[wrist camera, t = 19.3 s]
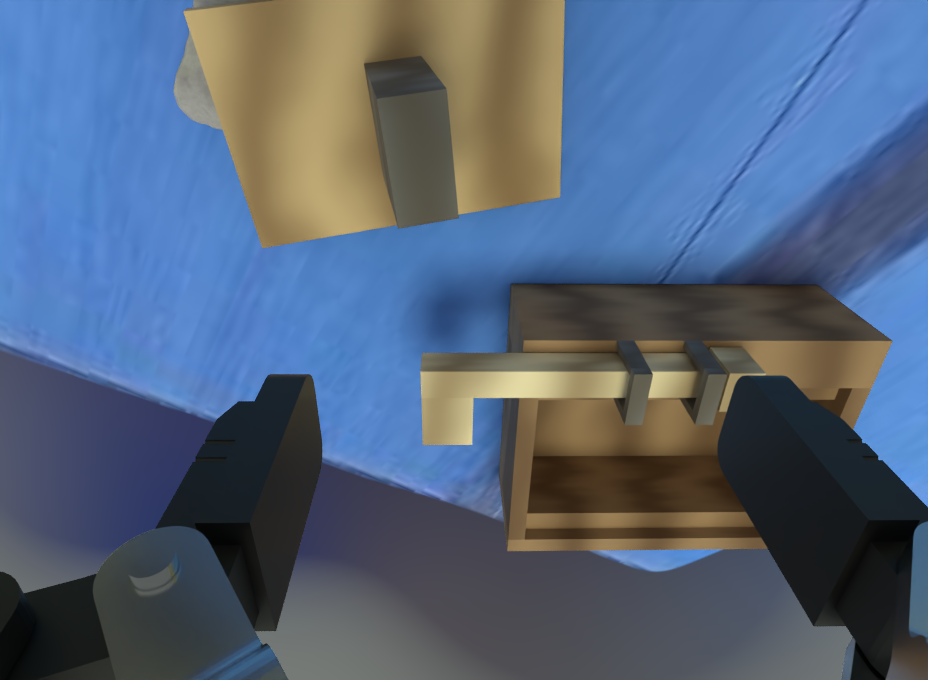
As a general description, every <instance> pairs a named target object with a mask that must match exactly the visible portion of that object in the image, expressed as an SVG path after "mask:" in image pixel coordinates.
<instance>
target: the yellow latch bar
mask: <svg viewBox="0 0 928 680" xmlns="http://www.w3.org/2000/svg"><path fill="white" fill-rule="evenodd" d="M709 351H710V353H711V354H712V355H713V356H714V358H715V359H716V360H717V362H718V363H719V364H720V366H721V367H722V368H723V370H724V371H725V372H726V373H727V377H726V380H725V384H724V387H723V391H722V394H721V398H720V401H719V404H718V408H717V410H718V411H719V412H727V409H728V406H729V403H730V399H731V396H732V393H733V389H734V386H735V384H736V382H737V380H738V379H739V378H740V377H741V376H746V375H766V373H765V372H764V371H763V369H762V368H761V367H760V366H759V365H758V364H757V363H756V361H755V360H754V359H753V358H752V357H751V356H750V355H749V353H748V352H747V351H746V350H745V349H744V348H743V347H710V349H709ZM641 354H642V355H643V357H644V359H645V361H646V363H647V364H648V366H649V368H650V370H651V372H652V373H653V378H652V382H651V387H650V391H649V396H648V398H697V394H698V391H699V387H700V383H701V379H702V375H701V373H700V372H699V370H698V369H697V368H696V366H695V365H694V363H693V362H692V360H691V359H690V357H689V356H688V355H687V353H641ZM629 378H630V375H629V373H628V371H627V369H626V367H625V365H624V363H623V361H622V359H621V357H620V355H619V353H422V360H421V398H422V428H423V445H472V428H473V398H626V394H627V389H628V384H629Z"/></svg>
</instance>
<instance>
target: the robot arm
mask: <svg viewBox="0 0 928 680" xmlns="http://www.w3.org/2000/svg"><path fill="white" fill-rule="evenodd" d="M717 452H718V460H719V464H720V467H721V470H722V472H723V474H724V476H725V477H726V479H727V481H728V482H729V484H730V486H731V487H732V489H733V491H734V493H735V494H736V496H737V498H738V499H739V501H740V503H741V504H742V506H743V508H744V509H745V511H746V513H747V515H748V516H749V518H750V520H751V521H752V523H753V525H754V526H755V528H756V530H757V531H758V533H759V535H760V536H761V538H762V540H763V542H764V543H765V545H766V547H767V548H768V550H769V552H770V553H771V555H772V557H773V558H774V560H775V562H776V563H777V565H778V567H779V569H780V570H781V572H782V574H783V575H784V577H785V579H786V580H787V582H788V584H789V585H790V587H791V588H792V590H793V592H794V594H795V596H796V597H797V599H798V600H799V602H800V604H801V605H802V607H803V609H804V611H805V612H806V614H807V616H808V617H809V619H810V621H811V623H812V624H813V626H846V627H847V628H848V630H849V632H850V633H851V635H852V636H853V637H852V639H851V641H850V643H849V644H848V646H847V648H846V652H845V658H844V664H843V672H842V678H841V680H928V507H927V506H926V505H925V504H924V503H923V502H922V501H921V500H920V499H919V498H918V497H917V496H916V495H915V494H914V493H913V492H912V491H911V490H910V489H909V487H908V486H907V485H906V484H905V483H904V482H903V481H902V480H901V479H900V478H899V477H898V476H897V475H896V474H895V473H894V472H893V471H892V470H891V469H890V468H889V467H888V466H887V465H886V464H885V463H884V462H883V460H878V455H877V454H876V453H875V452H874V451H873V450H872V449H871V448H870V447H869V446H868V445H867V444H866V443H862V439H861V438H860V437H859V436H858V434H857V433H856V432H855V431H854V430H853V429H852V428H851V427H850V426H849V425H848V424H847V423H846V422H845V421H844V420H843V419H842V418H840V417H839V416H837V415H835V414H834V413H832V412H831V411H829V410H827V409H826V408H824V407H823V406H821V405H819V404H818V403H816V402H811V401H810V400H809V399H808V398H807V396H806V395H805V394H804V393H803V392H802V391H801V390H800V389H799V388H798V387H797V386H796V385H795V383H794V382H793V381H792V380H791V379H790V378H788V377H787V376H783V375H746V376H741V377H740V378H739V379H738V380H737V382H736V384H735V386H734V389H733V393H732V396H731V399H730V403H729V406H728V409H727V413H726V416H725V419H724V422H723V426H722V429H721V432H720V436H719V439H718V447H717ZM321 462H322V438H321V430H320V423H319V416H318V409H317V401H316V394H315V387H314V382H313V378H312V376H311V375H309V374H270V375H268V376H267V378H266V379H265V381H264V383H263V385H262V387H261V389H260V392H259V394H258V396H257V398H256V400H255V401H239V402H237V403H236V404H235V405H234V406H233V407H231V408H230V409H229V410H228V411H226V412H225V413H224V414H223V415H222V416H220V417H219V418H218V419H217V420H216V422H215V424H214V426H213V427H212V429H211V431H210V433H209V434H208V436H207V438H206V440H205V444H203V445H202V447H201V449H200V450H199V452H198V454H197V456H196V461H195V462H193V463H192V465H191V466H190V468H189V470H188V472H187V474H186V475H185V477H184V479H183V481H182V482H181V484H180V486H179V488H178V489H177V491H176V493H175V495H174V496H173V498H172V500H171V502H170V504H169V506H168V507H167V509H166V511H165V512H164V514H163V516H162V518H161V520H160V521H159V523H158V525H157V527H156V528H155V529H154V530H151V531H148V532H146V533H143V534H140V535H139V536H137V537H135V538H133V539H131V540H129V541H128V542H126V543H125V544H123V545H122V546H120V547H119V548H118V549H117V550H115V551H114V552H113V553H112V554H111V555H110V556H109V557H108V558H107V559H106V561H105V562H104V563H103V564H102V566H101V567H100V569H99V571H98V572H97V574H94V575H91V576H88V577H85V578H81V579H77V580H74V581H70V582H66V583H62V584H58V585H54V586H51V587H47V588H43V589H39V590H36V591H32V592H28V593H23V592H22V590H21V588H20V586H19V585H18V583H17V581H16V580H15V579H14V578H13V577H12V576H11V575H9V574H6V573H4V572H0V680H288V678H287V676H286V674H285V672H284V670H283V669H282V667H281V665H280V663H279V661H278V659H277V657H276V656H275V654H274V652H273V651H272V649H271V648H270V646H269V645H268V644H264V645H262V643H261V642H260V640H259V638H258V636H257V634H256V632H255V631H276V629H277V625H278V621H279V618H280V615H281V611H282V607H283V603H284V600H285V597H286V593H287V589H288V586H289V582H290V578H291V575H292V571H293V567H294V564H295V560H296V557H297V553H298V550H299V546H300V542H301V539H302V535H303V532H304V528H305V524H306V520H307V517H308V514H309V510H310V506H311V503H312V499H313V495H314V492H315V488H316V484H317V481H318V477H319V474H320V469H321Z"/></svg>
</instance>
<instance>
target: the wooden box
mask: <svg viewBox="0 0 928 680" xmlns="http://www.w3.org/2000/svg"><path fill="white" fill-rule="evenodd" d="M891 343H892V340H891V339H889V338H888V337H886V336H885V335H884V334H882V333H881V332H880V331H878V330H877V329H876V328H874V327H873V326H872V325H870V324H869V323H868V322H866V321H865V320H864V319H862V318H861V317H860V316H858V315H857V314H856V313H854V312H853V311H852V310H850V309H849V308H848V307H846V306H845V305H844V304H842V303H841V302H840V301H838V300H837V299H836V298H834V297H833V296H832V295H830V294H829V293H828V292H826V291H825V290H824V289H822V288H821V287H820V286H818V285H700V284H511V289H510V306H509V322H508V338H507V353H619V355H620V357H621V359H622V361H623V363H624V365H625V367H626V369H627V371H628V373H629V375H630V378H629V384H628V389H627V394H626V398H504V403H503V419H502V435H501V452H500V468H499V479H500V488H501V497H502V506H503V516H504V525H505V534H506V543H507V551H552V550H553V551H559V550H560V551H561V550H562V551H565V550H678V549H768V548H767V547H766V545H765V543H764V542H763V540H762V538H761V536H760V535H759V533H758V531H757V530H756V528H755V526H754V525H753V523H752V521H751V520H750V518H749V516H748V515H747V513H746V511H745V509H744V508H743V506H742V504H741V503H740V501H739V499H738V498H737V496H736V494H735V493H734V491H733V489H732V487H731V486H730V484H729V482H728V481H727V479H726V477H725V476H724V474H723V472H722V470H721V467H720V464H719V460H718V452H717V447H718V439H719V436H720V432H721V429H722V426H723V422H724V419H725V416H726V413H727V412H719V411H718V410H717V408H718V404H719V401H720V398H721V394H722V391H723V387H724V384H725V380H726V377H727V373H726V372H725V371H724V370H723V368H722V367H721V366H720V364H719V363H718V362H717V360H716V359H715V358H714V356H713V355H712V354H711V353H710V351H709V349H710V347H743V348H744V349H745V350H746V351H747V352H748V353H749V355H750V356H751V357H752V358H753V359H754V360H755V361H756V363H757V364H758V365H759V366H760V367H761V368H762V369H763V371H764V372H765V373H766V375H783V376H787V377H788V378H790V379H791V380H792V381H793V382H794V383H795V385H796V386H797V387H798V388H799V389H800V390H801V391H802V392H803V393H804V394H805V395H806V396H807V398H808V399H809V400H810V401H811V402H816V403H818V404H819V405H821V406H823V407H824V408H826V409H827V410H829V411H831V412H832V413H834V414H835V415H837V416H839V417H840V418H842V419H843V420H844V421H845V422H846V423H847V424H848V425H849V426H850V427H851V428H852V429H853V428H854V426H855V424H856V421H857V419H858V417H859V415H860V412H861V410H862V408H863V406H864V404H865V401H866V399H867V397H868V395H869V392H870V390H871V388H872V386H873V384H874V381H875V379H876V377H877V375H878V372H879V370H880V368H881V366H882V363H883V361H884V359H885V357H886V355H887V352H888V350H889V348H890V346H891ZM641 353H687V355H688V356H689V357H690V359H691V360H692V362H693V363H694V365H695V366H696V368H697V369H698V370H699V372H700V373H701V375H702V379H701V383H700V387H699V391H698V394H697V398H648V396H649V391H650V387H651V382H652V378H653V373H652V372H651V370H650V368H649V366H648V364H647V363H646V361H645V359H644V357H643V355H642V354H641Z"/></svg>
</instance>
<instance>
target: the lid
mask: <svg viewBox="0 0 928 680" xmlns="http://www.w3.org/2000/svg"><path fill="white" fill-rule="evenodd" d="M183 12H184V15H185V18H186V21H187V24H188V27H189V30H190V33H191V36H192V39H193V42H194V45H195V48H196V51H197V54H198V57H199V60H200V63H201V66H202V69H203V72H204V75H205V78H206V81H207V84H208V87H209V90H210V93H211V96H212V99H213V102H214V105H215V108H216V111H217V114H218V117H219V120H220V123H221V126H222V129H223V132H224V135H225V138H226V141H227V144H228V147H229V150H230V153H231V156H232V159H233V162H234V165H235V168H236V171H237V174H238V177H239V180H240V183H241V186H242V189H243V192H244V195H245V198H246V201H247V204H248V207H249V210H250V213H251V216H252V219H253V222H254V225H255V227H256V230H257V233H258V236H259V239H260V242H261V245H262V248H266V247H272V246H278V245H284V244H289V243H295V242H301V241H307V240H313V239H319V238H325V237H330V236H336V235H342V234H348V233H354V232H360V231H365V230H371V229H377V228H383V227H389V226H395V225H397V226H398V228H404V227H410V226H416V225H422V224H428V223H433V222H439V221H445V220H451V219H457V218H459V214H465V213H471V212H477V211H482V210H488V209H494V208H500V207H506V206H512V205H517V204H523V203H529V202H535V201H541V200H547V199H553V198H558V197H560V177H561V136H562V96H563V56H564V15H565V0H254V1H246V2H237V3H229V4H221V5H212V6H204V7H195V8H187V9H186V10H185V11H183Z"/></svg>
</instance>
